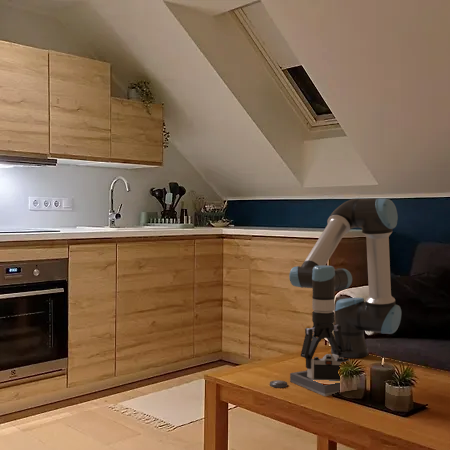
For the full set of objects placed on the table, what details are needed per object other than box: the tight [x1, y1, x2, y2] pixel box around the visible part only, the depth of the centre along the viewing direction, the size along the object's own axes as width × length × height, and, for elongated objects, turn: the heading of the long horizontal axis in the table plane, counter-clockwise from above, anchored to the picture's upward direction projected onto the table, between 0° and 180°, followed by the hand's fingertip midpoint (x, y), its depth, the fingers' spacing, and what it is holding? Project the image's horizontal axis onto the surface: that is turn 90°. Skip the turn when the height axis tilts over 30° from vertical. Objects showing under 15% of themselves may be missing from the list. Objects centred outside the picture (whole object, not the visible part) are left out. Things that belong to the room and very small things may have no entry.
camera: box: [313, 353, 350, 381], centre depth 207 cm, size 13×8×9 cm, turn 84°
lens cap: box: [269, 379, 288, 389], centre depth 209 cm, size 6×6×2 cm
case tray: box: [289, 370, 340, 397], centre depth 209 cm, size 14×19×3 cm
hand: (323, 375), depth 209 cm, fingers closed on camera, 10 cm apart
